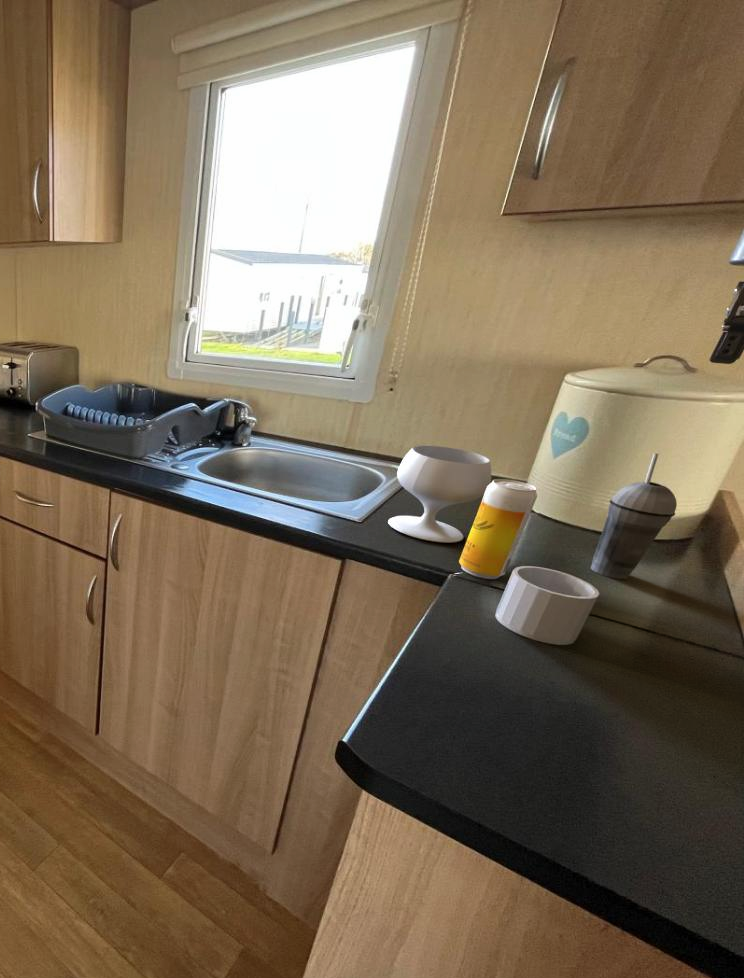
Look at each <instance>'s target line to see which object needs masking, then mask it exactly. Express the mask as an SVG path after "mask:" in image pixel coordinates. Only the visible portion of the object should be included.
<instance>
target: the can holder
mask: <svg viewBox="0 0 744 978" xmlns="http://www.w3.org/2000/svg"><path fill="white" fill-rule="evenodd" d="M599 596H600V592H599V590H598V588H596V587H595V586H594V585H592V584H591V583H589V582H587V581H585V580H583V579H581V578H579V577H576V576H574V575H572V574H570V573H567V572H562V571H560V570H555V569H551V568H546V567H541V566H533V565H522V566H517V567H514V569H513V570H512V572H511V574H510V576H509V579H508V581H507V584H506V586H505V588H504V591H503V593H502V596H501V598H500V600H499V603H498V605H497V607H496V610H495V614H494V616H495V619H496V620H497V621H498V622H499V623H500V624H501V625H502V626H504V627H505V628H506V629H508V630H510V631H512V633H513V632H514V633H515V634H518V635H520V636H522V637H525V638H528V639H529V640H533V641H536V642H539V643H540V642H541V643H544V644H549V645H555V646H556V645H557V646H568V645H572V644H575V642H576V641H577V640H578V637H579V636H580V634H581V631H582V630H583V628H584V626H585V624H586V621H587V620H588V618H589V617H590V614H591V612H592V610H593V608H594V606H595V605H596V602H597V600H598V598H599Z"/></svg>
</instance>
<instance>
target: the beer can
mask: <svg viewBox="0 0 744 978" xmlns="http://www.w3.org/2000/svg"><path fill="white" fill-rule="evenodd" d="M491 481H492V482H490V485H488V486H487V488H486V491H485V494H484V495H483V496H482V499H481V502H480V504H479V507H478V510H477V512H476V516H475V518H474V521H473V523H472V526H471V528H470V531H469V534H468V536H467V538H466V541H465V543H464V547H463V550H462V552H461V555H460V558H459V560H458V563H459V564H460V566H461V567H460V568H461V569H462V570H463V571H464V572H466V573H467V574H470V575H471V576H474V577H478V578H482V579H487V580H496V579H499V578H500V577H502V576H505V575H506V573H507V570H508V568H509V565H510V563H511V560H512V558H513V556H514V553H515V551H516V550H517V549H516V548H517V546H518V544H519V541H520V539H521V536H522V534H523V532H524V529H525V527H526V525H527V522H528V520H529V518H530V516H531V513H532V511H533V508H534V505H535V504H536V500H537V498H538V494H537V487H536V486H534V485H532V484H530V483H526V482H523V481H520V480H514V479H507V478H495V479H493V480H491Z"/></svg>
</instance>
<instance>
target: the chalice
mask: <svg viewBox="0 0 744 978" xmlns="http://www.w3.org/2000/svg"><path fill="white" fill-rule="evenodd" d="M396 476H397V480H398V483H399V484H400V486H401V487H402V488H403V489H405V490H406V491H407V492H408V493H410V494H411V495H412V496H414V497H415V498H416V499H417V500H419V501H420V503H421V504H422V506H423V508H424V509H423V510H424V512H423V514H422V516H415V515H396V516H394V517H391V518H389V519H388V520H387V523H388V525H389V526H390V527H391V528H393V529H394V530H396V531H397V532H400V533H402V534H405V535H407V536H410V537H413V538H417V539H420V540H425V541H430V542H437V543H457V542H460V541H462V540H463V539H464V534H463V533H462V532H461V531H460V530H459V529H457V528H456V527H454V526H452V525H449V524H448V523H444V522H441V521H438V520H436V515H437V513H438V512H439V511H441V510H442V509H444V508H446V507H449V506H453V505H459V504H464V503H469V502H473V501H476V500H478V499H480V498H481V497H483V496H484V494H485V491H486V488H487V486H488V485H490V484H491V483H492V482H491V481H492V465H491V461H490V459H489V458H488V457H486V456H485V455H481V454H479V453H476V452H472V451H468V450H464V449H458V448H453V447H446V446H437V445H420V446H419V445H417V446H414V447H412V448H411V449H410V450H409V451H408V452H407V453H406V454H405V456H404V457H403V458H402V460H401V463H400V464H399V467H398V468H397V472H396Z"/></svg>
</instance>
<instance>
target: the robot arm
mask: <svg viewBox="0 0 744 978" xmlns="http://www.w3.org/2000/svg"><path fill="white" fill-rule="evenodd" d="M728 263H729V265H731V266H738V267H739V266H740V267H744V229H742V232H741V234H740V236H739V238H738V241H737V243H736V244H735V246H734V249H733V251H732V253H731V254H730V257H729V259H728ZM725 316H726V317H725V318H724V320H723V324H722V325H721V329H722V330H721V331H722V333H721V335H720V337H719V339H718V341H717V343H716V345H715V347H714V348H713V351H712V353H711V355H710V357H709V362H710V363H712V364H723V365H731V364H734V363H736V362H737V360H739V359H740V358H741V356H742V355H743V353H744V281H742V280H741V281H738V283H737V285H736V286H735V288H734V290H733V293H732V299H731V301H730V303H729V305H728V306H727V309H726V312H725Z"/></svg>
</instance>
